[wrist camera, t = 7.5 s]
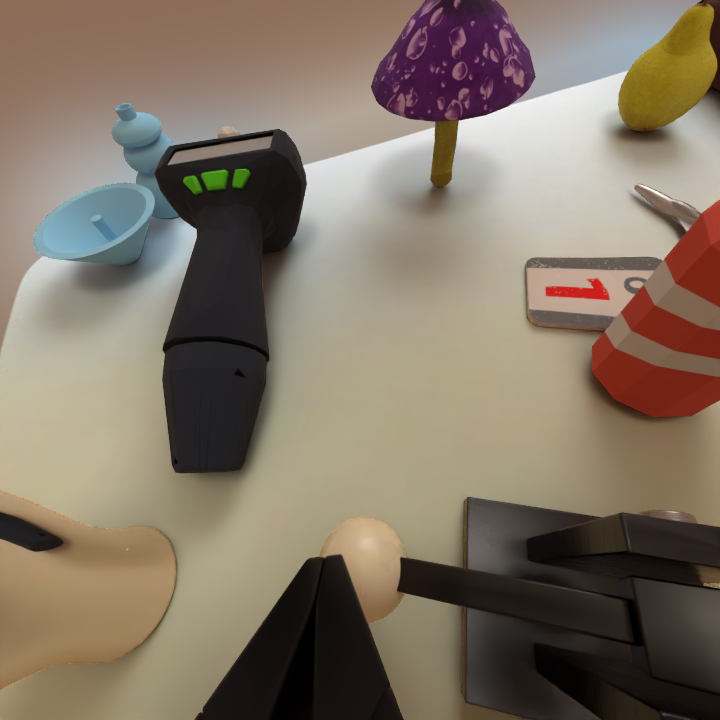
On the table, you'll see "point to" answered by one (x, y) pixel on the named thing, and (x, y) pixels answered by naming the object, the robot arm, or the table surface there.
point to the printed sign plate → (583, 289)
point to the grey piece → (670, 206)
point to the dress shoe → (715, 39)
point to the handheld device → (224, 288)
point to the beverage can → (669, 331)
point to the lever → (546, 603)
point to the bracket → (566, 648)
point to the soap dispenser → (112, 202)
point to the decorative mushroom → (453, 70)
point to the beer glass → (75, 589)
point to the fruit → (670, 73)
